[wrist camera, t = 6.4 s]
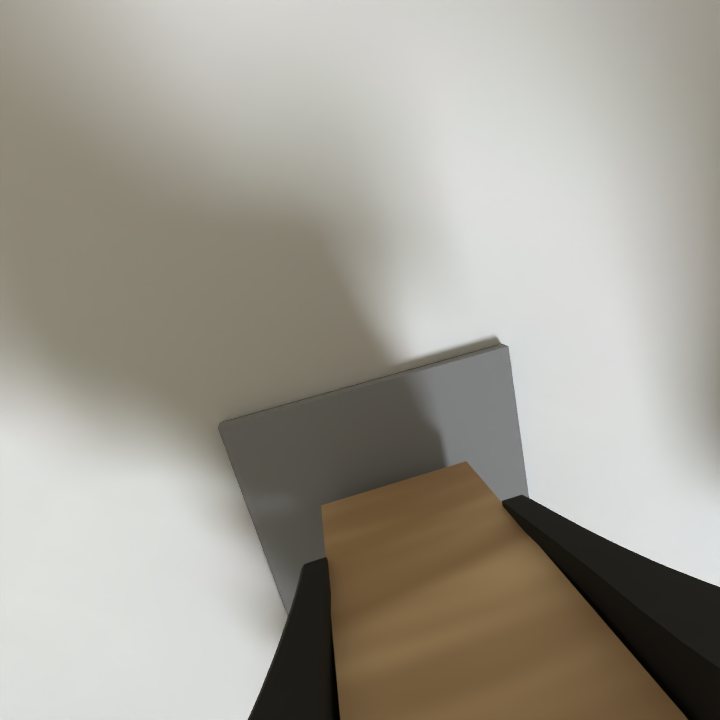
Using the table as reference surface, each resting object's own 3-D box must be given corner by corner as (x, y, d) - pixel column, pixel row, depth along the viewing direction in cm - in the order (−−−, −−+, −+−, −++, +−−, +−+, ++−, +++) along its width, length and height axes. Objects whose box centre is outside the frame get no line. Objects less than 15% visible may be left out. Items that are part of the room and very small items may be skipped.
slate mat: (502, 344, 13) (508, 346, 13) (569, 827, 21) (575, 838, 20) (220, 422, 12) (217, 428, 12) (396, 898, 20) (398, 910, 20)
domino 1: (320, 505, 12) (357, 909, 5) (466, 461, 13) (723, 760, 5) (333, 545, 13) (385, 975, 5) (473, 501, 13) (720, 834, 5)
